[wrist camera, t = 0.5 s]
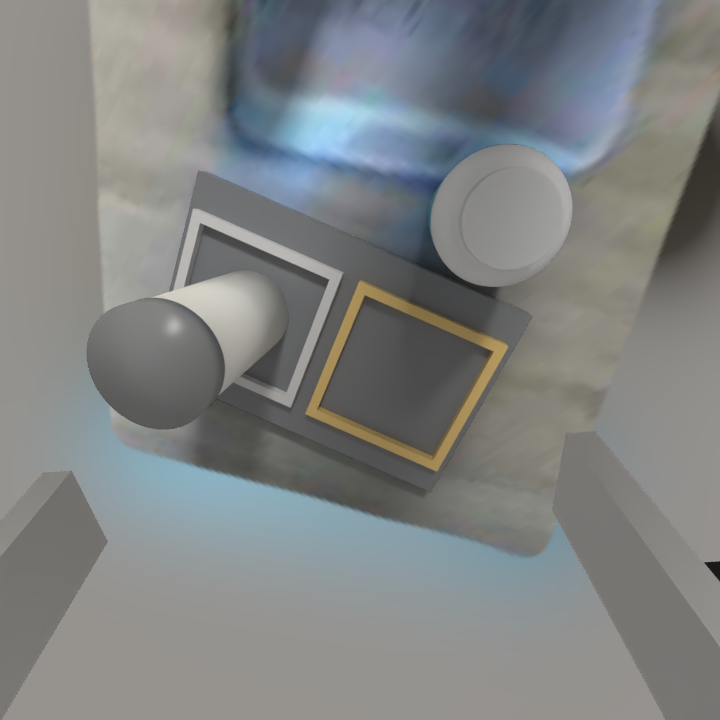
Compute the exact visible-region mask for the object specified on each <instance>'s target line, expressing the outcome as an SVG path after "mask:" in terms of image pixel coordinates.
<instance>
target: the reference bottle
mask: <svg viewBox="0 0 720 720" xmlns="http://www.w3.org/2000/svg"><path fill="white" fill-rule="evenodd" d="M288 321H289V310H288V305H287V302H286V299H285V297H284V295H283V293H282V291H281V290H280V289H279V287H278V286H277V285H276V284H275V283H274V282H273V281H272V280H271V279H269V278H268V277H266V276H264V275H262V274H260V273H258V272H254V271H249V270H239V271H234V272H231V273H228V274H225V275H222V276H218V277H215V278H212V279H209V280H206V281H202V282H199V283H196V284H193V285H190V286H187V287H183V288H180V289H177V290H174V291H171V292H168V293H164V294H161V295H158V296H155V297H152V298H144V299H139V300H136V301H133V302H129V303H126V304H123V305H120V306H117V307H114V308H112V309H111V310H109V311H107V312H106V313H104V314H103V315H102V316H101V317H100V318H99V319H98V320H97V322H96V323H95V324H94V326H93V328H92V330H91V332H90V335H89V338H88V342H87V362H88V368H89V371H90V375H91V377H92V379H93V382H94V384H95V386H96V388H97V389H98V391H99V392H100V394H101V395H102V397H103V398H104V399H105V400H106V402H107V403H108V404H109V405H110V406H111V407H112V408H113V409H114V410H116V411H117V412H118V413H119V414H121V415H122V416H124V417H125V418H127V419H128V420H130V421H132V422H134V423H136V424H139V425H142V426H144V427H148V428H153V429H174V428H178V427H182V426H184V425H186V424H188V423H190V422H191V421H193V420H194V419H196V418H197V417H198V416H199V415H200V414H201V413H202V412H203V411H205V410H206V409H207V408H208V407H209V406H210V405H211V404H212V403H213V402H214V401H215V400H216V398H217V397H218V396H219V395H220V394H221V393H222V392H223V391H224V390H225V389H226V388H228V387H229V386H230V385H231V384H232V383H233V382H234V381H235V380H236V379H238V378H239V377H240V376H241V375H242V374H243V373H244V372H245V371H247V370H248V369H249V368H250V367H251V366H252V365H253V364H254V363H256V362H257V361H258V360H259V359H260V358H261V357H262V356H263V355H264V354H266V353H267V352H268V351H269V350H270V349H271V348H272V347H273V346H275V345H276V344H277V343H278V342H279V341H280V340H281V338H282V337H283V336H284V334H285V332H286V329H287V326H288Z"/></svg>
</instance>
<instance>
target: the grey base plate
mask: <svg viewBox="0 0 720 720" xmlns="http://www.w3.org/2000/svg"><path fill="white" fill-rule="evenodd" d="M239 270H249V271H254V272H258V273H260V274H262V275H264V276H266V277H268V278H269V279H271V280H272V281H273V282H274V283H275V284H276V285H277V286H278V287H279V289H280V290H281V291H282V293H283V295H284V297H285V299H286V302H287V305H288V310H289V321H288V326H287V329H286V332H285V334H284V336H283V337H282V338H281V340H280V341H279V342H278V343H277V344H276V345H275V346H273V347H272V348H271V349H270V350H269V351H268V352H267V353H266V354H264V355H263V356H262V357H261V358H260V359H259V360H258V361H257V362H256V363H254V364H253V365H252V366H251V367H250V368H249V369H248V370H247V371H245V372H244V373H243V374H242V375H241V376H240V377H239V378H238V379H236V380H235V381H234V382H233V383H232V384H231V385H230V386H229V387H228V388H226V389H225V390H224V391H223V392H222V393H221V394H220V395H219V396H218V397H217V398H216V399H218V400H221V401H223V402H225V403H228V404H230V405H232V406H234V407H237V408H239V409H241V410H244V411H246V412H248V413H250V414H253V415H255V416H257V417H260V418H262V419H264V420H266V421H269V422H271V423H273V424H276V425H278V426H280V427H282V428H285V429H287V430H289V431H292V432H294V433H296V434H298V435H301V436H303V437H305V438H308V439H310V440H312V441H314V442H317V443H319V444H321V445H324V446H326V447H328V448H330V449H333V450H335V451H337V452H340V453H342V454H344V455H346V456H349V457H351V458H353V459H356V460H358V461H360V462H362V463H365V464H367V465H369V466H372V467H374V468H376V469H378V470H381V471H383V472H385V473H388V474H390V475H392V476H394V477H397V478H399V479H401V480H404V481H406V482H408V483H410V484H413V485H415V486H417V487H420V488H422V489H424V490H426V491H429V492H431V491H432V489H433V488H434V486H435V484H436V482H437V481H438V479H439V477H440V476H441V474H442V472H443V470H444V469H445V467H446V465H447V463H448V462H449V460H450V458H451V457H452V455H453V453H454V451H455V450H456V448H457V446H458V444H459V443H460V441H461V439H462V438H463V436H464V434H465V432H466V431H467V429H468V427H469V425H470V424H471V422H472V420H473V419H474V417H475V415H476V413H477V412H478V410H479V408H480V407H481V405H482V403H483V401H484V400H485V398H486V396H487V394H488V393H489V391H490V389H491V388H492V386H493V384H494V382H495V381H496V379H497V377H498V375H499V374H500V372H501V370H502V369H503V367H504V365H505V363H506V362H507V360H508V358H509V356H510V355H511V353H512V351H513V350H514V348H515V346H516V344H517V343H518V341H519V339H520V337H521V336H522V334H523V332H524V331H525V329H526V327H527V325H528V324H529V322H530V320H531V318H532V316H531V315H530V314H529V313H528V312H525V311H523V310H521V309H518V308H516V307H514V306H512V305H509V304H507V303H505V302H502V301H500V300H498V299H496V298H493V297H491V296H489V295H486V294H484V293H482V292H480V291H477V290H475V289H473V288H471V287H468V286H466V285H464V284H461V283H459V282H457V281H455V280H452V279H450V278H448V277H445V276H443V275H441V274H439V273H436V272H434V271H432V270H429V269H427V268H425V267H423V266H420V265H418V264H416V263H413V262H411V261H409V260H407V259H404V258H402V257H400V256H398V255H395V254H393V253H391V252H388V251H386V250H384V249H382V248H379V247H377V246H375V245H372V244H370V243H368V242H366V241H363V240H361V239H359V238H356V237H354V236H352V235H350V234H347V233H345V232H343V231H340V230H338V229H336V228H334V227H331V226H329V225H327V224H325V223H322V222H320V221H318V220H315V219H313V218H311V217H309V216H306V215H304V214H302V213H299V212H297V211H295V210H293V209H290V208H288V207H286V206H283V205H281V204H279V203H277V202H274V201H272V200H270V199H268V198H265V197H263V196H261V195H258V194H256V193H254V192H252V191H249V190H247V189H245V188H242V187H240V186H238V185H236V184H233V183H231V182H229V181H226V180H224V179H222V178H220V177H217V176H215V175H213V174H210V173H208V172H203V171H198V174H197V179H196V183H195V187H194V191H193V195H192V199H191V203H190V208H189V212H188V216H187V220H186V224H185V228H184V233H183V237H182V241H181V245H180V249H179V253H178V257H177V262H176V266H175V270H174V274H173V278H172V282H171V286H170V291H169V292H171V291H174V290H177V289H180V288H183V287H187V286H190V285H193V284H196V283H199V282H202V281H206V280H209V279H212V278H215V277H218V276H222V275H225V274H228V273H231V272H234V271H239Z"/></svg>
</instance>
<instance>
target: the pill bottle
mask: <svg viewBox="0 0 720 720" xmlns="http://www.w3.org/2000/svg"><path fill="white" fill-rule="evenodd" d="M571 219H572V198H571V193H570V189H569V186H568V183H567V181H566V179H565V177H564V175H563V173H562V172H561V170H560V169H559V168H558V166H557V165H556V164H555V163H554V162H553V161H552V160H551V159H550V158H548V157H547V156H546V155H545V154H543V153H541V152H539V151H537V150H535V149H533V148H530V147H527V146H522V145H515V144H502V145H495V146H491V147H487V148H484V149H481V150H479V151H477V152H475V153H473V154H471V155H469V156H468V157H466V158H465V159H463V160H462V161H461V162H460V163H459V164H457V165H456V166H455V167H454V168H453V169H452V170H451V171H450V173H449V174H448V175H447V176H446V178H445V179H444V180H443V181H442V182H441V183H440V185H439V186H438V188H437V189H436V191H435V193H434V195H433V197H432V200H431V202H430V206H429V211H428V227H429V232H430V236H431V239H432V241H433V243H434V246H435V248H436V250H437V252H438V254H439V256H440V258H441V259H442V261H443V262H444V263H445V265H446V266H447V267H448V268H449V269H450V270H451V271H452V272H453V273H454V274H456V275H457V276H459V277H460V278H462V279H464V280H465V281H468V282H470V283H473V284H476V285H480V286H487V287H503V286H509V285H513V284H516V283H519V282H522V281H524V280H526V279H528V278H530V277H532V276H534V275H535V274H537V273H538V272H540V271H541V270H542V269H543V268H545V267H546V266H547V265H548V264H549V263H550V262H551V261H552V260H553V258H554V257H555V256H556V255H557V253H558V252H559V250H560V249H561V247H562V245H563V243H564V241H565V239H566V237H567V234H568V232H569V228H570V224H571Z"/></svg>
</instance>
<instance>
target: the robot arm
mask: <svg viewBox="0 0 720 720" xmlns="http://www.w3.org/2000/svg"><path fill="white" fill-rule="evenodd" d="M552 510H553V512H554V514H555V516H556V517H557V519H558V521H559V523H560V525H561V527H562V529H563V530H564V532H565V534H566V536H567V538H568V540H569V541H570V543H571V545H572V547H573V549H574V551H575V552H576V554H577V556H578V558H579V560H580V562H581V564H582V566H583V567H584V569H585V571H586V573H587V575H588V577H589V579H590V580H591V582H592V584H593V586H594V588H595V590H596V591H597V593H598V595H599V597H600V599H601V601H602V602H603V605H604V606H605V608H606V610H607V612H608V614H609V616H610V617H611V619H612V621H613V623H614V625H615V627H616V629H617V631H618V632H619V634H620V636H621V638H622V640H623V642H624V643H625V645H626V647H627V649H628V651H629V653H630V655H631V656H632V658H633V660H634V662H635V664H636V666H637V668H638V669H639V671H640V673H641V675H642V677H643V679H644V681H645V682H646V684H647V686H648V688H649V690H650V692H651V694H652V695H653V697H654V699H655V701H656V703H657V705H658V706H659V708H660V710H661V712H662V714H663V716H664V718H665V719H666V720H720V561H719V562H703V561H702V560H701V558H700V557H699V556H698V555H697V554H696V552H695V551H694V550H693V549H692V548H691V546H690V545H689V544H688V543H687V542H686V540H685V539H684V538H683V537H682V536H681V534H680V533H679V532H678V531H677V529H676V528H675V527H674V526H673V525H672V523H671V522H670V521H669V520H668V519H667V517H666V516H665V515H664V514H663V513H662V511H661V510H660V509H659V508H658V506H657V505H656V504H655V503H654V502H653V500H652V499H651V498H650V497H649V496H648V494H647V493H646V492H645V491H644V490H643V488H642V487H641V486H640V485H639V484H638V482H637V481H636V480H635V479H634V477H633V476H632V475H631V474H630V473H629V471H628V470H627V469H626V468H625V467H624V465H623V464H622V463H621V462H620V461H619V459H618V458H617V457H616V456H615V454H614V453H613V452H612V451H611V450H610V448H609V447H608V446H607V445H606V444H605V442H604V441H603V440H602V439H601V438H600V437H599V435H598V434H597V433H596V432H595V431H593V432H580V433H566V436H565V441H564V447H563V452H562V458H561V463H560V469H559V475H558V480H557V486H556V491H555V497H554V502H553V508H552ZM107 542H108V541H107V539H106V537H105V536H104V533H103V531H102V529H101V527H100V525H99V524H98V522H97V520H96V518H95V516H94V514H93V512H92V510H91V508H90V506H89V504H88V502H87V500H86V498H85V496H84V494H83V492H82V490H81V488H80V486H79V484H78V482H77V481H76V479H75V476H74V475H73V473H72V471H61V472H48V473H43V474H42V475H41V476H40V477H39V478H38V479H37V480H36V481H35V483H34V484H33V485H32V486H31V487H30V488H29V489H28V490H27V491H26V493H25V494H24V495H23V496H22V497H21V498H20V499H19V500H18V501H17V502H16V504H15V505H14V506H13V507H12V508H11V509H10V510H9V511H8V513H7V514H6V515H5V516H4V517H3V518H2V519H1V520H0V720H2V719H3V716H4V715H5V714H6V712H7V710H8V708H9V707H10V705H11V704H12V702H13V700H14V698H15V697H16V695H17V693H18V691H19V690H20V688H21V687H22V685H23V683H24V681H25V680H26V678H27V677H28V675H29V673H30V671H31V670H32V668H33V666H34V665H35V663H36V661H37V660H38V658H39V656H40V655H41V653H42V651H43V650H44V648H45V646H46V644H47V643H48V641H49V640H50V638H51V636H52V635H53V633H54V631H55V629H56V628H57V626H58V624H59V623H60V621H61V619H62V617H63V616H64V614H65V612H66V611H67V609H68V608H69V606H70V604H71V603H72V601H73V599H74V598H75V596H76V594H77V592H78V591H79V589H80V587H81V586H82V584H83V582H84V581H85V579H86V577H87V575H88V574H89V572H90V571H91V569H92V567H93V565H94V564H95V562H96V560H97V559H98V557H99V555H100V554H101V552H102V550H103V549H104V547H105V545H106V544H107Z"/></svg>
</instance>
